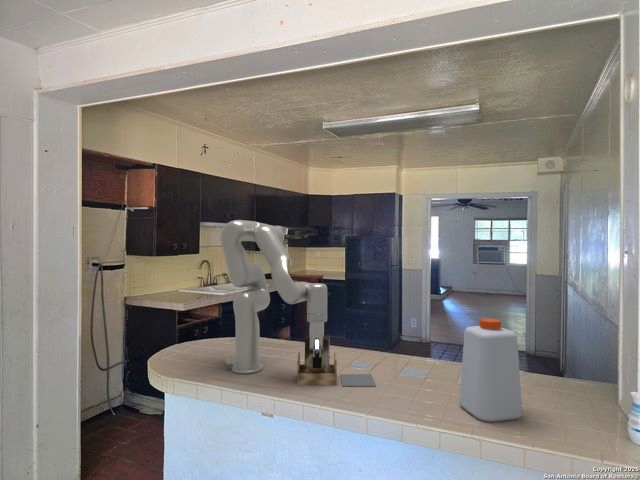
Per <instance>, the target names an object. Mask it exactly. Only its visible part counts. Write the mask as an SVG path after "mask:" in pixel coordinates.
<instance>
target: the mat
mask: <svg viewBox="0 0 640 480" xmlns="http://www.w3.org/2000/svg"><path fill="white" fill-rule="evenodd" d="M339 374H340V373H339ZM340 381H341V387H343V388H345V387H346V388H347V387H348V388H350V387H351V388H353V387H354V388H355V387H356V388H358V387H359V388H360V387H361V388H362V387H364V388H367V387H368V388H370V387H371V388H372V387H373V388H376V387H377V385H376V383H375V380H374V377H373V374H370V373H369V374H368V373H367V374H366V373H364V374H363V373H361V374H360V373H355V374H354V373H351V374H349V373H345V374H344V373H341V374H340Z"/></svg>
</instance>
